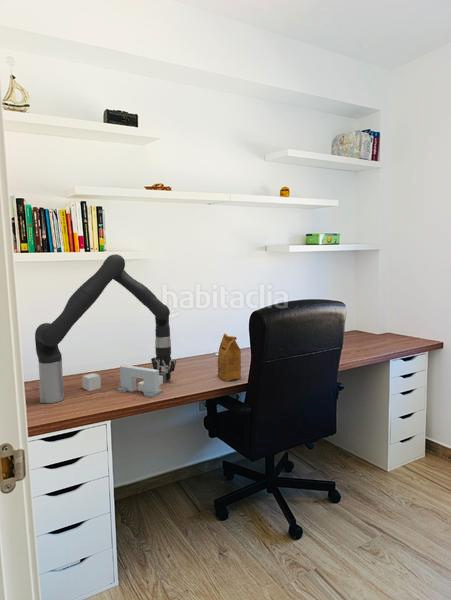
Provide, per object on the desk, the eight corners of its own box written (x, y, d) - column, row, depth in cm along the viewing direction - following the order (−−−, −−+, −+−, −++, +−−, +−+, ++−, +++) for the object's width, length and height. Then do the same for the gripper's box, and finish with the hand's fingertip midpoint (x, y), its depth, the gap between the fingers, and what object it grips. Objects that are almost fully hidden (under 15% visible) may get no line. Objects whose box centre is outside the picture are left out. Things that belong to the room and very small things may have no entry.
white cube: (82, 388, 197) (82, 375, 196) (94, 385, 201) (93, 373, 201) (89, 391, 193) (88, 378, 192) (100, 388, 197) (100, 375, 197)
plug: (145, 391, 191) (144, 382, 190) (137, 390, 193) (137, 381, 192) (169, 380, 207) (169, 371, 207) (162, 379, 209) (162, 370, 209)
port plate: (151, 397, 183) (151, 373, 181) (117, 391, 192) (116, 367, 191) (162, 392, 190) (162, 368, 188) (128, 386, 199) (128, 363, 198)
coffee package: (232, 373, 219) (232, 331, 217) (243, 379, 208) (243, 336, 205) (214, 376, 215) (214, 333, 212) (225, 382, 203) (224, 337, 201)
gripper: (179, 345, 205) (180, 379, 206) (156, 342, 211) (157, 375, 213) (170, 348, 198) (171, 383, 200) (146, 345, 205) (147, 379, 207)
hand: (164, 379), depth 207 cm, fingers closed on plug, 4 cm apart
